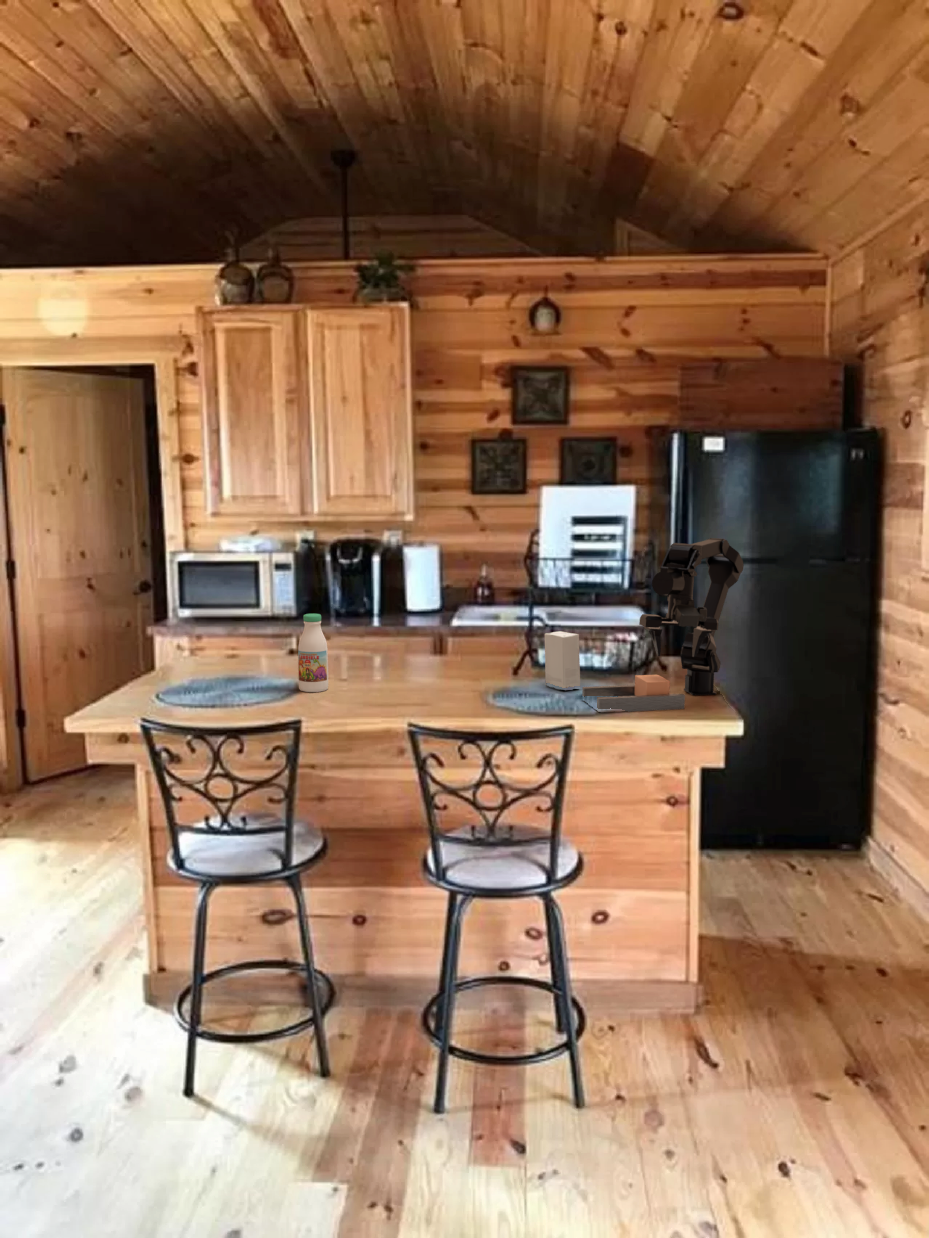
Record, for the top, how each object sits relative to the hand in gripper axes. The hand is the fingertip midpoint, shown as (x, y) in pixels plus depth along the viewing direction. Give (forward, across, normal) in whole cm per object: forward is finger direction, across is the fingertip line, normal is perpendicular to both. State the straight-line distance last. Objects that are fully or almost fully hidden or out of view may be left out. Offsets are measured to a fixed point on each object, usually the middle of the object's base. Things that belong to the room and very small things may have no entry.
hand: (676, 656), depth 259 cm
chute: (+12, -10, 0) cm, 16 cm away
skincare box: (+12, -24, +20) cm, 34 cm away
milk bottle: (+16, -89, +26) cm, 94 cm away
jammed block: (+11, -6, 0) cm, 12 cm away
